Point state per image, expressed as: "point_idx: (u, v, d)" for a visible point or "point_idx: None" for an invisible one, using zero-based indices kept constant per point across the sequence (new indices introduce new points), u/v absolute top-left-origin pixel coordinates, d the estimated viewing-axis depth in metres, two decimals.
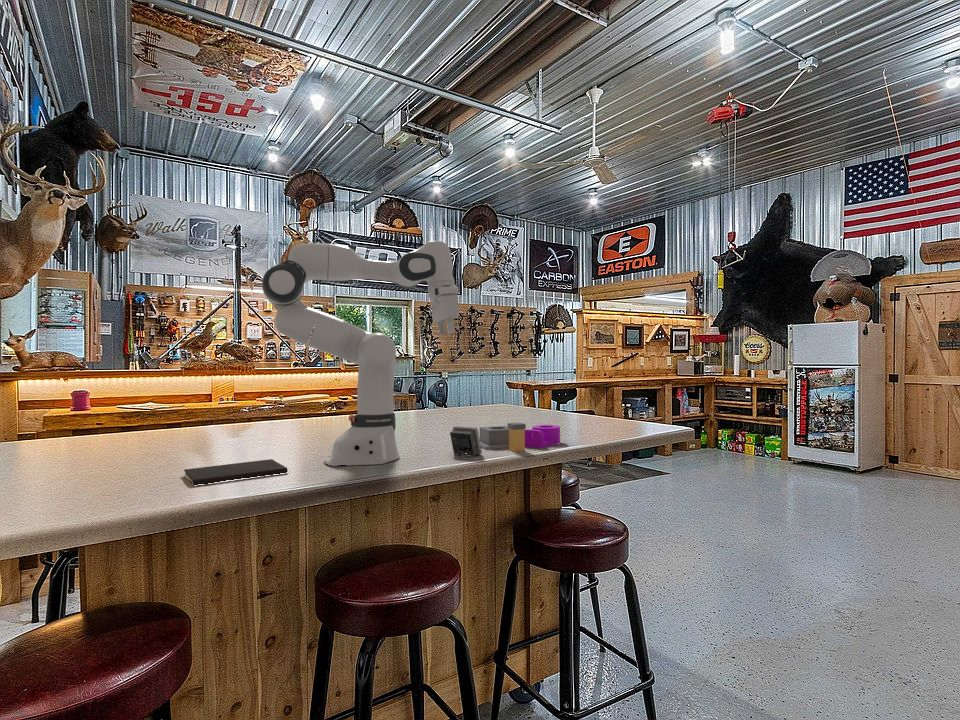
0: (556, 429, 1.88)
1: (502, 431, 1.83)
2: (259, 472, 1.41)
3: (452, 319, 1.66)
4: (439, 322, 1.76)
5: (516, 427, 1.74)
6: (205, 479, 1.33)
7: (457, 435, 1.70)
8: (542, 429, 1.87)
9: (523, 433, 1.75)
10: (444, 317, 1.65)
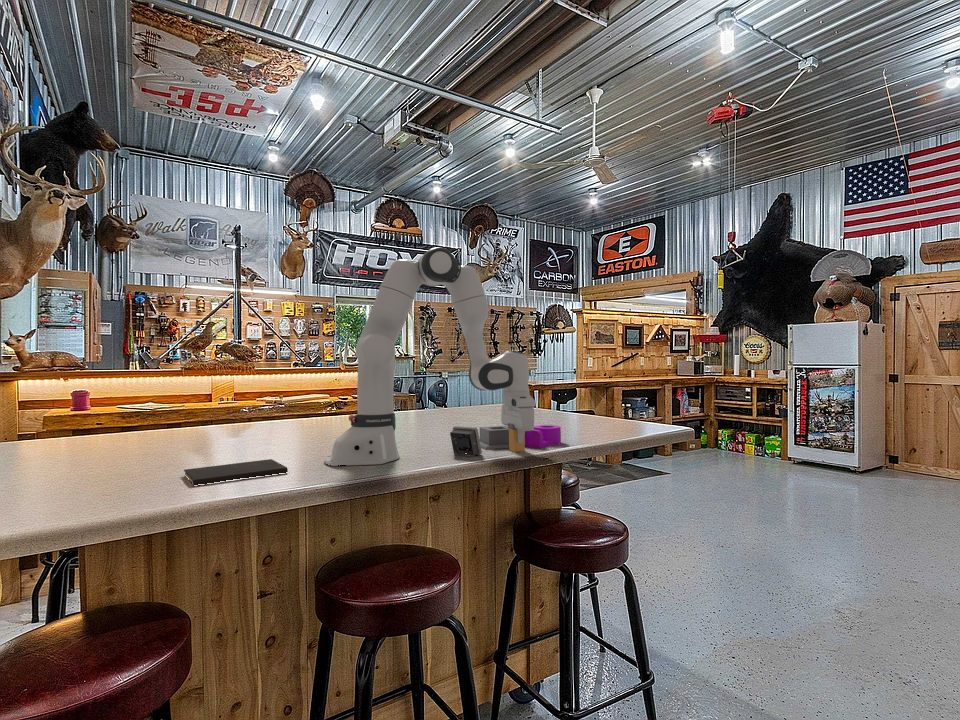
0: (556, 429, 1.88)
1: (502, 431, 1.83)
2: (259, 472, 1.41)
3: None
4: None
5: None
6: (205, 479, 1.33)
7: (457, 435, 1.70)
8: (542, 429, 1.87)
9: None
10: (518, 428, 1.70)
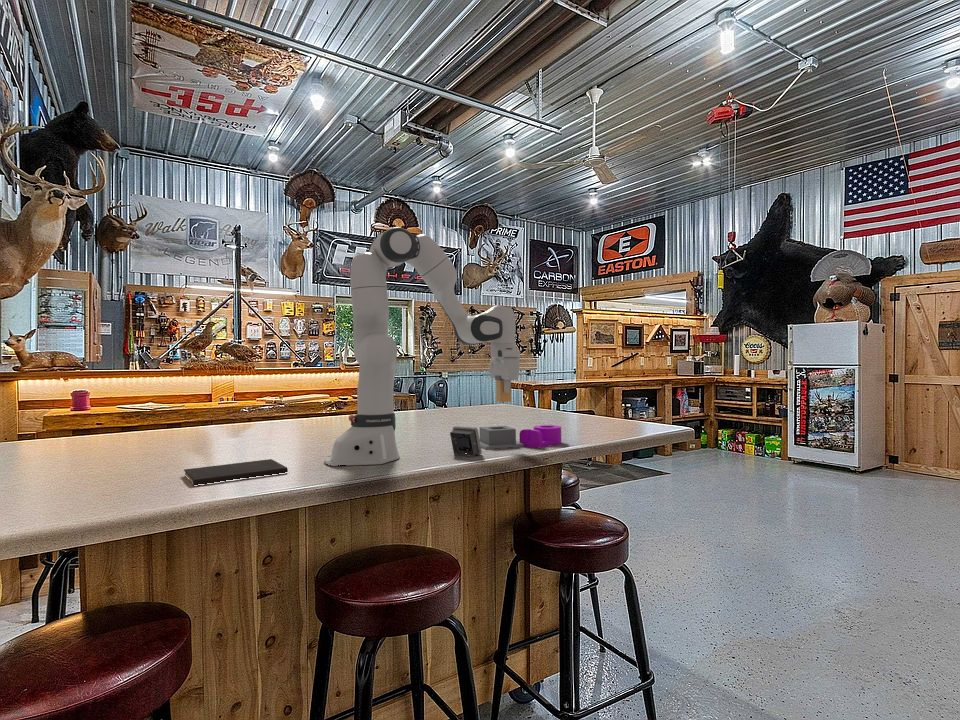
0: (556, 429, 1.87)
1: (502, 431, 1.83)
2: (259, 472, 1.41)
3: (509, 380, 1.79)
4: None
5: None
6: (205, 479, 1.33)
7: (457, 435, 1.70)
8: (542, 429, 1.87)
9: None
10: (504, 378, 1.77)
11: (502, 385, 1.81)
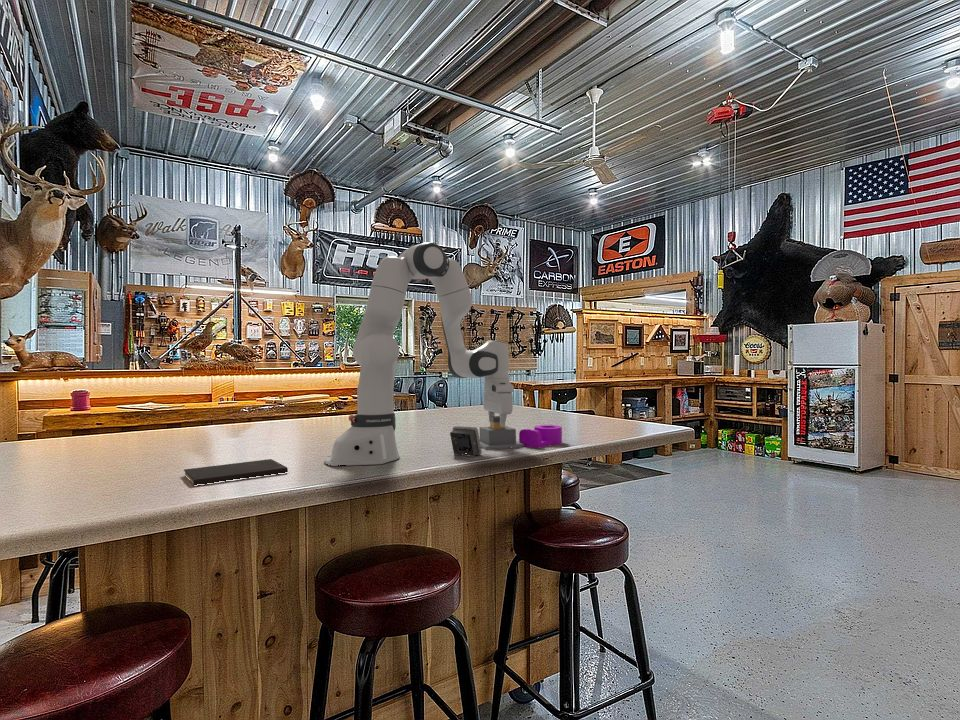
0: (556, 430, 1.87)
1: (502, 431, 1.83)
2: (259, 472, 1.41)
3: (505, 414, 1.82)
4: (490, 411, 1.93)
5: (496, 420, 1.85)
6: (206, 479, 1.33)
7: (457, 435, 1.70)
8: (542, 429, 1.87)
9: None
10: (498, 412, 1.82)
11: (496, 427, 1.86)
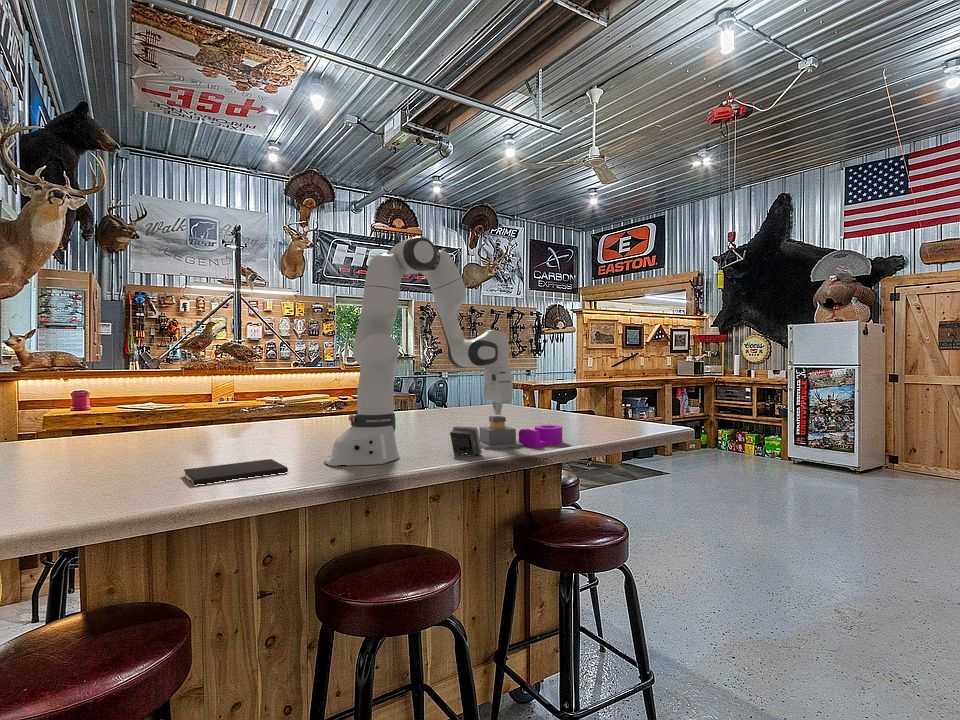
0: (556, 429, 1.87)
1: (502, 431, 1.83)
2: (259, 472, 1.41)
3: (501, 402, 1.86)
4: (494, 402, 1.89)
5: (496, 420, 1.85)
6: (206, 479, 1.33)
7: (457, 435, 1.70)
8: (541, 429, 1.87)
9: (503, 426, 1.87)
10: (498, 401, 1.82)
11: (496, 427, 1.86)
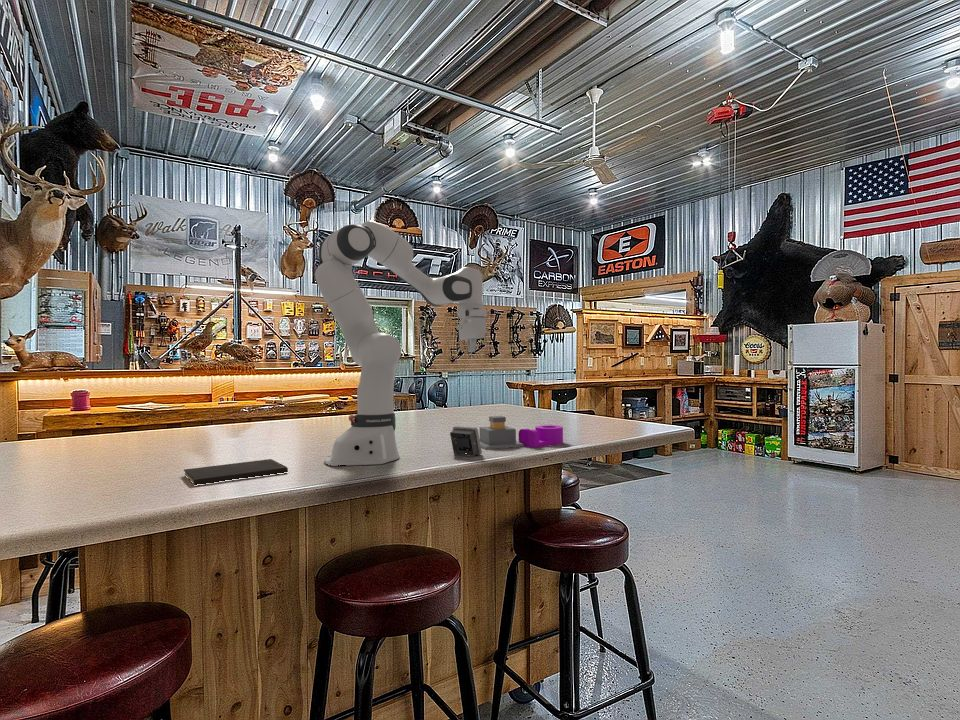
0: (556, 430, 1.86)
1: (502, 431, 1.83)
2: (260, 472, 1.41)
3: (475, 339, 1.87)
4: (468, 340, 1.90)
5: (496, 420, 1.85)
6: (206, 479, 1.33)
7: (457, 435, 1.70)
8: (541, 429, 1.87)
9: (503, 426, 1.87)
10: (471, 336, 1.83)
11: (496, 427, 1.86)
